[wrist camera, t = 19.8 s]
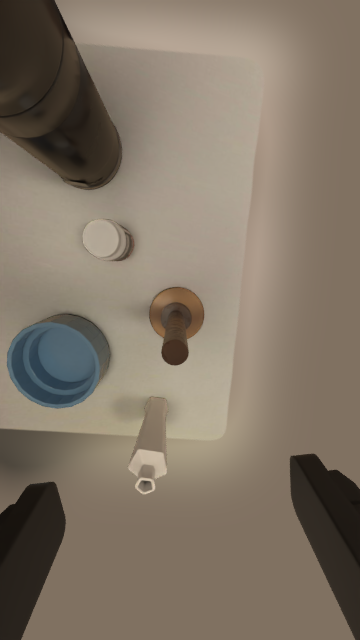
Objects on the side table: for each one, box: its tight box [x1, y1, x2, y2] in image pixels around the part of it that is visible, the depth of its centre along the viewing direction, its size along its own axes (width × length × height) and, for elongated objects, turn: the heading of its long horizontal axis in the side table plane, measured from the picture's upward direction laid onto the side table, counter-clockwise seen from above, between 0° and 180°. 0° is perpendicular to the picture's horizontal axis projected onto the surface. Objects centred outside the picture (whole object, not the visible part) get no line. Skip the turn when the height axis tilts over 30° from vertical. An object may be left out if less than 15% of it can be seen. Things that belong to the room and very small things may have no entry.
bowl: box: [7, 314, 110, 408], centre depth 36 cm, size 12×12×6 cm
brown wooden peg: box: [161, 302, 191, 365], centre depth 30 cm, size 4×4×15 cm
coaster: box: [150, 287, 204, 339], centre depth 38 cm, size 8×8×1 cm
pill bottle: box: [82, 219, 134, 261], centre depth 32 cm, size 5×5×8 cm
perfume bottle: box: [128, 397, 168, 495], centre depth 34 cm, size 5×4×15 cm
